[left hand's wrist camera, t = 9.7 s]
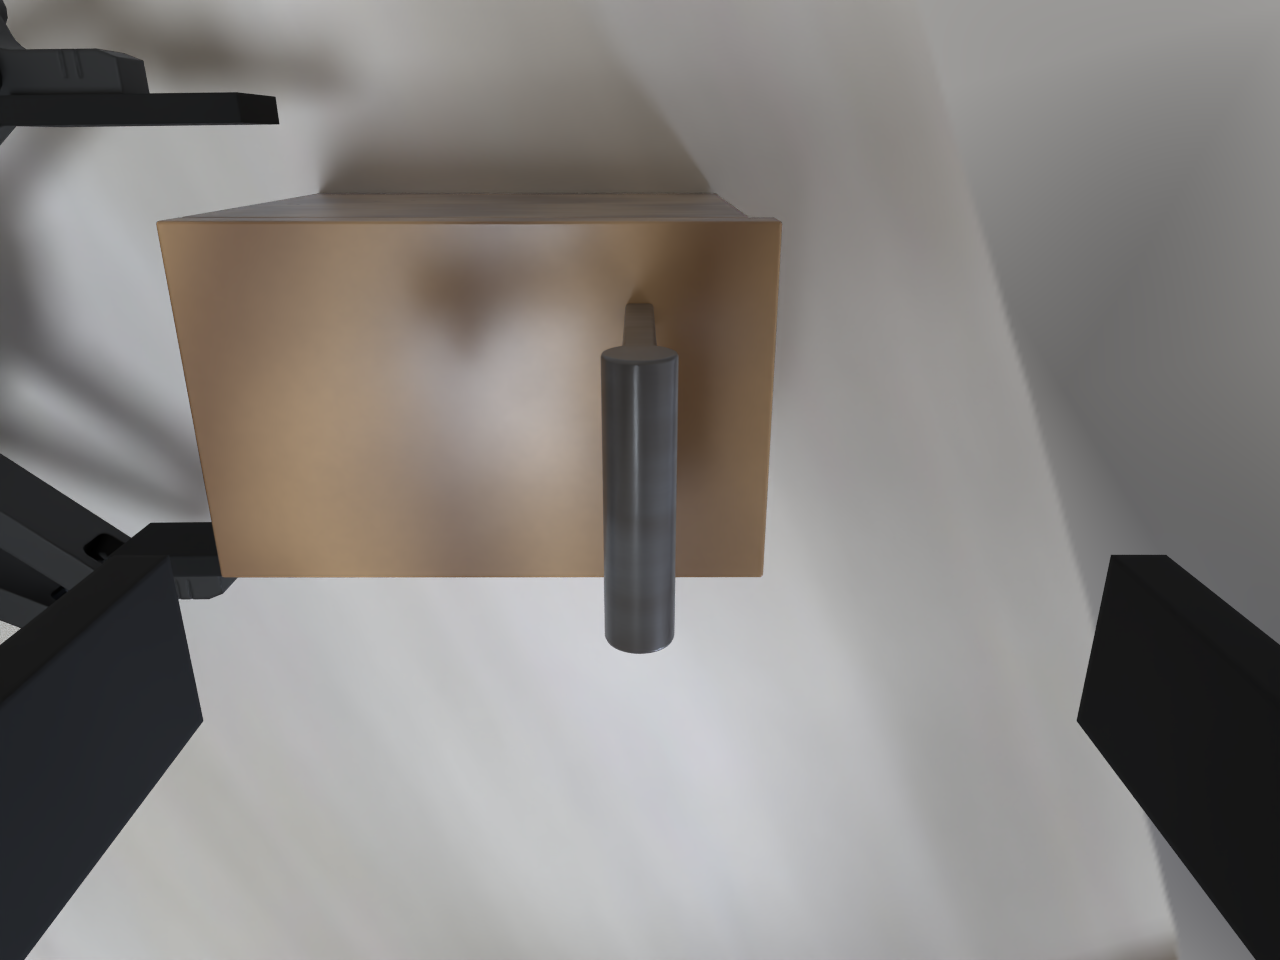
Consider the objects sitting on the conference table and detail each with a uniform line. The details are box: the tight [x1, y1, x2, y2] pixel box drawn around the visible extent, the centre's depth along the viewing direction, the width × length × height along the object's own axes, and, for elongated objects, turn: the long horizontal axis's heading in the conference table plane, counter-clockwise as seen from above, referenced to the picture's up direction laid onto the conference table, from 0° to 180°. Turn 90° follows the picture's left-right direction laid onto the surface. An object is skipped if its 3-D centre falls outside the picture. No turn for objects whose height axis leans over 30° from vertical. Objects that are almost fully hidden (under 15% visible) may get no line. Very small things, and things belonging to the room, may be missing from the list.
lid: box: [156, 218, 782, 654], centre depth 21 cm, size 15×10×8 cm, turn 90°
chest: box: [182, 193, 749, 218], centre depth 29 cm, size 14×10×10 cm, turn 90°
